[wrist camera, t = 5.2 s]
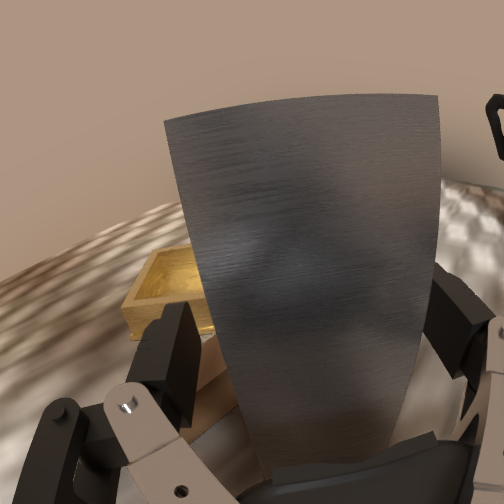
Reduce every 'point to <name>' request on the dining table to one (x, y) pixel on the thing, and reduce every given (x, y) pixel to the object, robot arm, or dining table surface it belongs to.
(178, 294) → the keeper
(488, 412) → the robot arm
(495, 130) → the coffeepot
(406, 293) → the stop bar
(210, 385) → the door edge strip
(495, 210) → the dining table surface
